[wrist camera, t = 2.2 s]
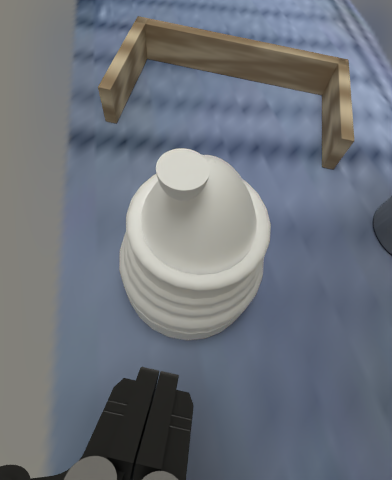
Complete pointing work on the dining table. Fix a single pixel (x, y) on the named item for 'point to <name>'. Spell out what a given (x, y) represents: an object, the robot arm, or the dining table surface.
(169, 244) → the honey pot
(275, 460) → the dining table surface
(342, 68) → the oak bay
